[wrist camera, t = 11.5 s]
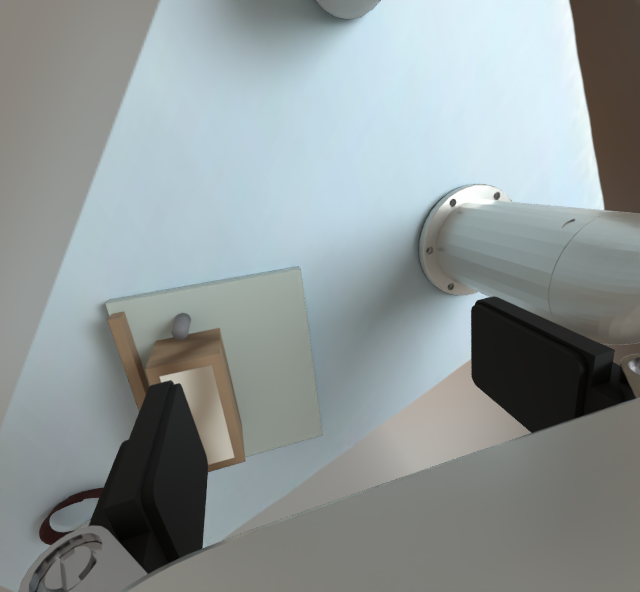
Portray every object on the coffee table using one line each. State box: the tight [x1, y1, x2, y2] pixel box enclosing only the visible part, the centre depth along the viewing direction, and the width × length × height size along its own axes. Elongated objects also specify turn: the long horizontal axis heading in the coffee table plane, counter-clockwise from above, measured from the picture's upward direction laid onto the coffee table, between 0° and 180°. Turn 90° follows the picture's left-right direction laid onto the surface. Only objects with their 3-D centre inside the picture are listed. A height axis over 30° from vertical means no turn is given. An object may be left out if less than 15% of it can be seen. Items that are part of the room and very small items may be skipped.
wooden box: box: [145, 328, 245, 472], centre depth 34 cm, size 6×12×6 cm, turn 6°
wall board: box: [105, 266, 322, 470], centre depth 36 cm, size 18×21×4 cm
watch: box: [39, 488, 103, 545], centre depth 37 cm, size 8×5×4 cm, turn 106°
